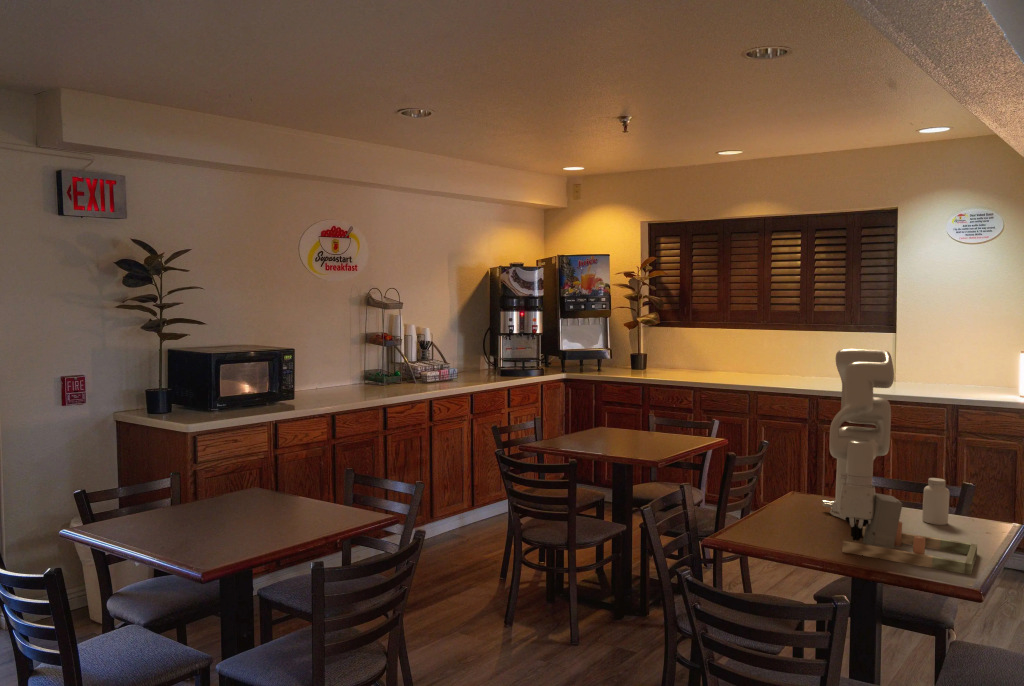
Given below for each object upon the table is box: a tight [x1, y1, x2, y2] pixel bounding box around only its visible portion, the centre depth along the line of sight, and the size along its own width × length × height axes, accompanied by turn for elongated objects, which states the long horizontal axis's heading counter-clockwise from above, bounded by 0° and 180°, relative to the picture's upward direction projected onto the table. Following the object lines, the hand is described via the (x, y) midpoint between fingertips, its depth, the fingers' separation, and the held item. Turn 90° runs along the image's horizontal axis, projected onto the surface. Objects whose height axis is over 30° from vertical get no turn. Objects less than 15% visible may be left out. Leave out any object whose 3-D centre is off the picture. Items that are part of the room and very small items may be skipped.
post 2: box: [912, 535, 926, 555], centre depth 232 cm, size 3×3×7 cm
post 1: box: [894, 520, 903, 547], centre depth 249 cm, size 3×3×7 cm
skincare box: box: [862, 492, 903, 549], centre depth 244 cm, size 8×7×16 cm
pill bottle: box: [921, 477, 951, 526], centre depth 277 cm, size 8×8×15 cm
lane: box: [841, 526, 978, 576], centre depth 241 cm, size 34×23×3 cm
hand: (856, 539), depth 248 cm, fingers closed
